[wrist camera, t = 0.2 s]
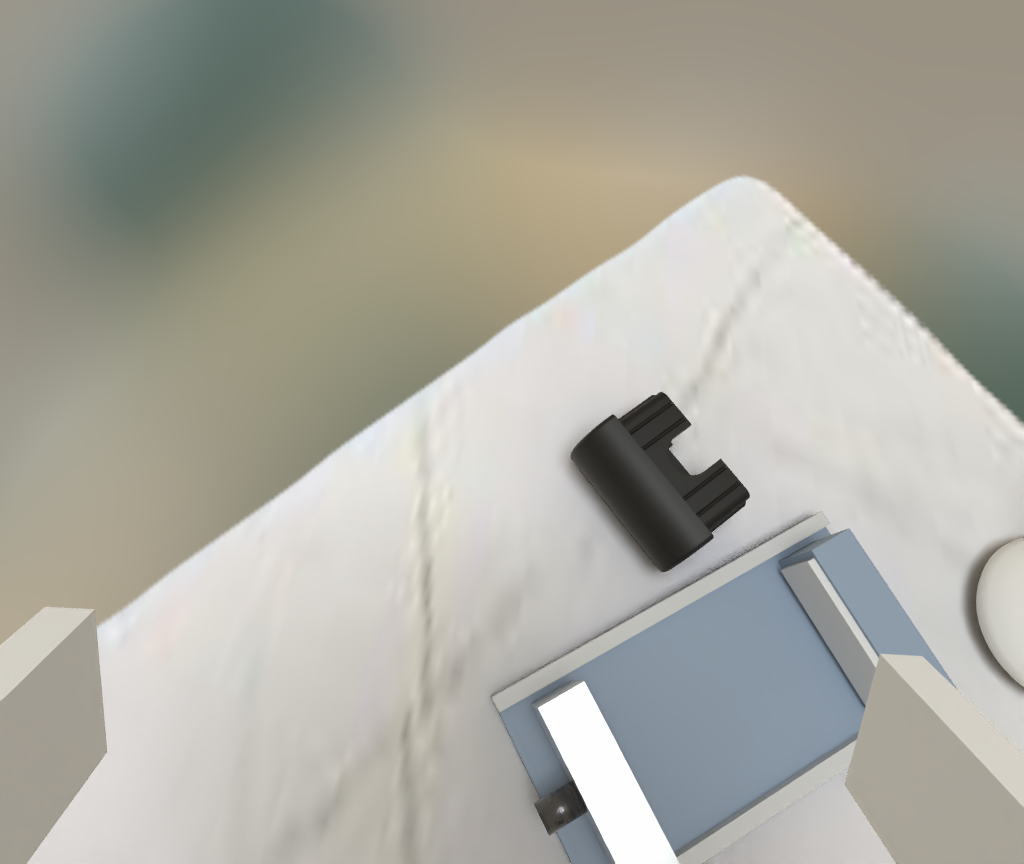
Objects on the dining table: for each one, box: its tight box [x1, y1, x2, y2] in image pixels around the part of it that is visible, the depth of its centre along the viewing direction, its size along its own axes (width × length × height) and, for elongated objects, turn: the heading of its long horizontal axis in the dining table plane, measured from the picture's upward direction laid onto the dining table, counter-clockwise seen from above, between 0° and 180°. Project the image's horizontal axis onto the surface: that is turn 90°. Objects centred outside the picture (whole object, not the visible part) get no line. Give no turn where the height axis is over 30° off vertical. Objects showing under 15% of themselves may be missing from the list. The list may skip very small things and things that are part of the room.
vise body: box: [491, 512, 957, 864], centre depth 43 cm, size 14×26×6 cm, turn 118°
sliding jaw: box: [531, 680, 680, 864], centre depth 40 cm, size 11×6×5 cm, turn 28°
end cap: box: [571, 392, 750, 572], centre depth 47 cm, size 10×7×7 cm
